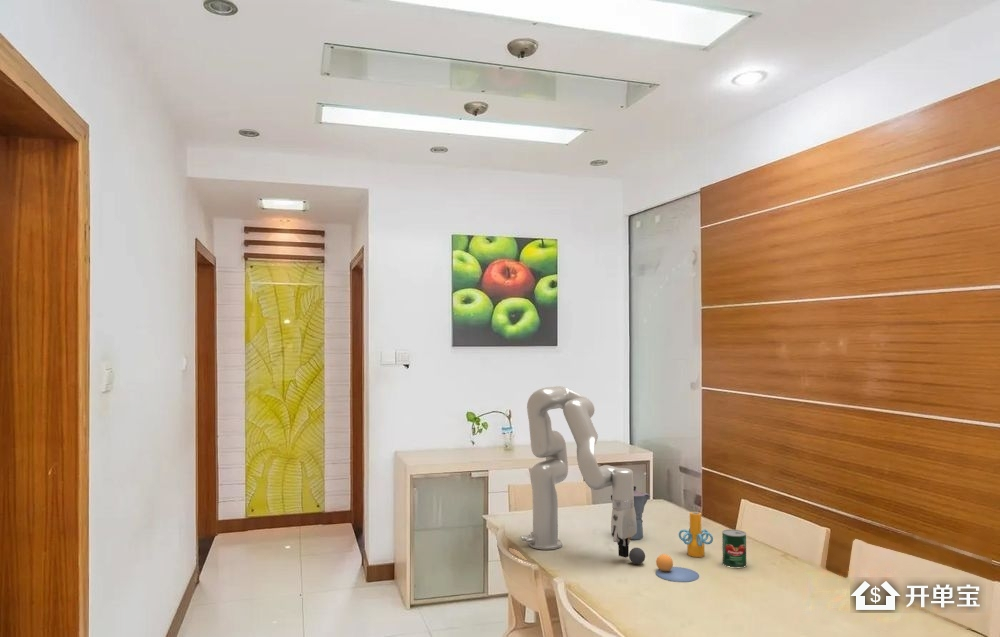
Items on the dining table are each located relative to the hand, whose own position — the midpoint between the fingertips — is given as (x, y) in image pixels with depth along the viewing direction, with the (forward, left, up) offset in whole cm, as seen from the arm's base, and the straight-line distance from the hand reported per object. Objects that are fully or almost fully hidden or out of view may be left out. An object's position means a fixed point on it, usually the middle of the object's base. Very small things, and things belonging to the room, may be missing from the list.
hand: (623, 556), depth 239 cm
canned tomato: (+35, -15, -2) cm, 38 cm away
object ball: (+8, -14, +1) cm, 16 cm away
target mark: (+10, -18, -2) cm, 21 cm away
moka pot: (+16, +25, -2) cm, 29 cm away
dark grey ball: (+3, -5, +1) cm, 6 cm away
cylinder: (+28, -2, -2) cm, 28 cm away
